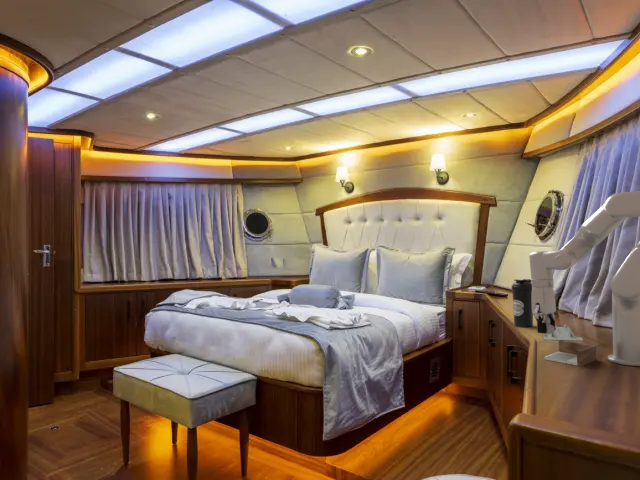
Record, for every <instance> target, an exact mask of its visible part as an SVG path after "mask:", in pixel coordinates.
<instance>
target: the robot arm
mask: <svg viewBox="0 0 640 480" xmlns="http://www.w3.org/2000/svg"><path fill="white" fill-rule="evenodd" d="M637 217H638V218H639V217H640V190H635V191H625V192H623V191H622V192H615V193H613V194H611V195H610V196H609V197H607V199H606V200H605V202H604V203H603V205H601V206H600V207H599V208H598V209H596V211H595V212H594V213H593V214H592V215H591V216H590V217H588V218H587V219H586V221H585V222H583V223H582V224H581V226H580V227H579V229H578V231H577V232H576V233H575V235H574V236H573V237H572V238H571V239H570V240H569V241H568V242H566V244H565V245H563V246H562V247H561V249H557V250H551V251H546V250H541V251H539V250H538V251H532V252H530V253H529V256H528V257H529V269H530V280H531V283H532V297H531V298H532V313H533V317H534V319H535V322H536V325H537V326H536V328H537V333H538V334H542V333H545V334H544V335H546V333H547V327H546V323H545V316H546V317H547V316H548V317H549V318H550V324H551V325H553V326H554V328H555V325H556V312H557V306H556V305H557V304H556V296H555V291H554V290H555V289H554V287H555V283H554V282H555V281H554V274H553V270H555V271H566V270H569V269H571V268H572V267H574V266H576V264H578V262H579V261H581V259H582V258H584V257H585V256H586V255H587V254H588V253H589V252H590V251H592V250H593V249H594V248H595V247H596V246H598V245H599V244H601V243H602V242H603V241H604V240H605V239H606V238H607V237H608V236H609V235H610V234H611V233H612V232H613V231H615V230H616V229H617V228H618V227H619V226H620V225H621V224H622V223H624V222H625V221H626V220H627V219H628V218H637ZM609 283H610V284H609V285H610V286H609V287H610V290H611V315H612V316H611V319H612V354H609V355H607V359H608V361H610V362H612V363H616V364H620V365H624V366H632V367H633V366H634V367H640V240H639V241H638V243H637V244H636V245H634V246H633V248H632V249H631V250H630V252H629V253H628V255H627V256H626V258H625V259H624V261H623V262H622V264H621V265H620V267H619V268H618V270H617V271H616V272H615V274H614V275H613V276H612V278H611V280H610V282H609ZM555 330H556V328H555Z"/></svg>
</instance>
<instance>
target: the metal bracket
mask: <svg viewBox="0 0 640 480" xmlns="http://www.w3.org/2000/svg"><path fill="white" fill-rule="evenodd" d="M555 328H556V330H555V331H554V332H553V333H552V334H545V336H543V337H542V338H543V339H544V341H558V342H559V341H560V340H561V341H568V342H584V339H583V337H580V336H576V335H575V334H574V333H573V331H572V330H571V328H570V327H569V326H567V324H564V325H563V326H557V325H556V324H555Z"/></svg>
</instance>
